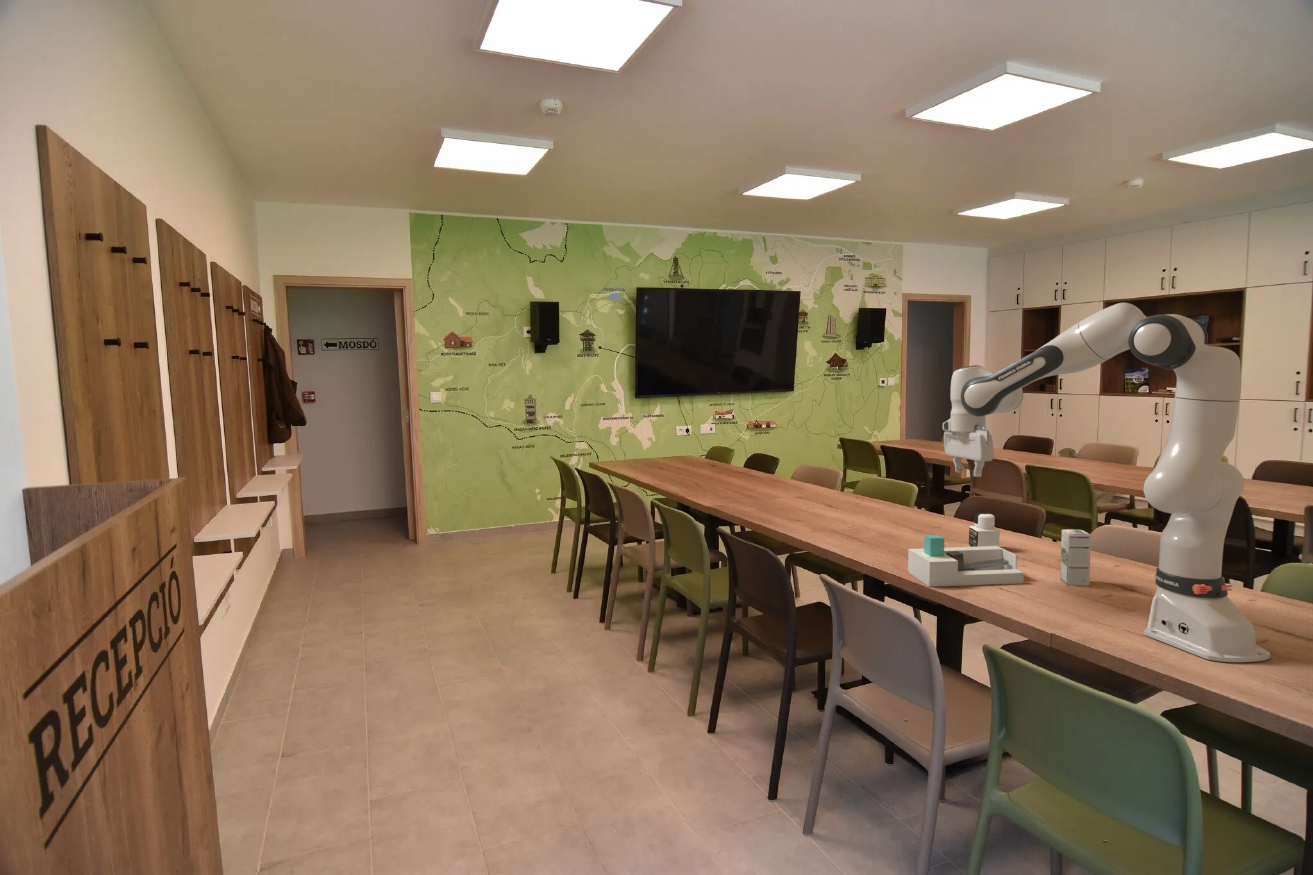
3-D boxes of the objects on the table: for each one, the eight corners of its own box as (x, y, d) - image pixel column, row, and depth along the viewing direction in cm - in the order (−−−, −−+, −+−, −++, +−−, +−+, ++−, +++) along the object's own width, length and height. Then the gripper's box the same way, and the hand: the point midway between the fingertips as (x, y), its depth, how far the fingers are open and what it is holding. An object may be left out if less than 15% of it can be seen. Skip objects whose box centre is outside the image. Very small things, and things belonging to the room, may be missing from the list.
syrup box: (1090, 586, 190) (1092, 534, 189) (1066, 585, 191) (1068, 533, 190) (1082, 579, 196) (1084, 529, 194) (1059, 579, 197) (1061, 528, 195)
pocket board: (1023, 583, 194) (1024, 558, 193) (929, 586, 192) (929, 561, 191) (996, 568, 208) (997, 545, 207) (908, 572, 206) (908, 548, 205)
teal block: (944, 555, 197) (944, 538, 196) (930, 556, 197) (930, 538, 196) (937, 552, 201) (937, 534, 200) (924, 552, 201) (924, 535, 200)
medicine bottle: (968, 546, 234) (969, 511, 232) (989, 546, 233) (990, 511, 232) (977, 552, 226) (978, 515, 225) (999, 551, 226) (1000, 515, 225)
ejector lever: (1009, 564, 199) (1007, 547, 198) (953, 572, 198) (952, 555, 197) (1002, 561, 202) (1001, 544, 201) (948, 569, 201) (946, 552, 200)
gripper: (1000, 426, 182) (1000, 478, 183) (960, 422, 202) (960, 470, 203) (976, 427, 182) (977, 479, 182) (939, 423, 202) (940, 470, 203)
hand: (968, 474), depth 193 cm, fingers open, 8 cm apart
